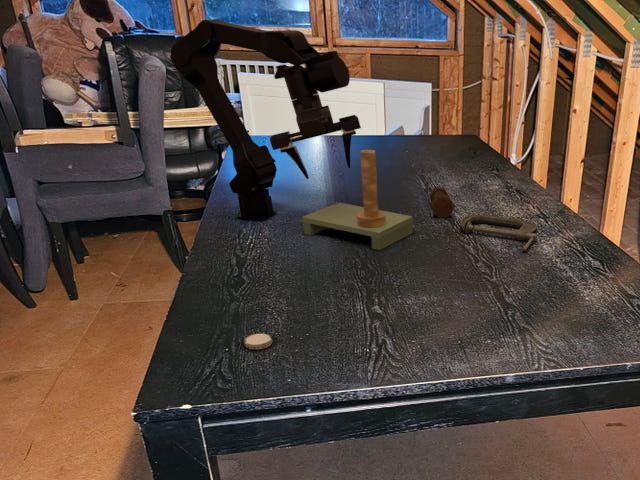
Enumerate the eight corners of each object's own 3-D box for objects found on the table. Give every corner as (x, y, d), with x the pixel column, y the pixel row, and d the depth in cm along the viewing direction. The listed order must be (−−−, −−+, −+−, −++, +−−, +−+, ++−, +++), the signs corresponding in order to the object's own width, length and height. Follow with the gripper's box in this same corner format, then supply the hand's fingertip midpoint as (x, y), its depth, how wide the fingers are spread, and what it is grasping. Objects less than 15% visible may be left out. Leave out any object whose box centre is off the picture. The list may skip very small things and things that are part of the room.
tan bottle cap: (239, 343, 98) (238, 339, 98) (261, 334, 101) (261, 330, 101) (255, 351, 96) (254, 348, 96) (277, 342, 99) (277, 338, 99)
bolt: (440, 206, 170) (446, 222, 156) (423, 197, 168) (427, 212, 155) (452, 187, 168) (458, 201, 154) (434, 177, 166) (439, 191, 153)
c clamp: (553, 230, 150) (554, 218, 149) (526, 253, 136) (526, 240, 135) (473, 216, 157) (474, 205, 156) (440, 237, 144) (440, 225, 142)
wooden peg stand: (357, 228, 135) (352, 154, 128) (357, 219, 141) (352, 148, 133) (386, 227, 136) (383, 154, 129) (385, 219, 142) (382, 147, 134)
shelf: (303, 233, 143) (302, 216, 141) (340, 218, 153) (339, 202, 151) (379, 250, 136) (378, 232, 134) (413, 233, 146) (412, 216, 144)
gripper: (255, 108, 126) (282, 188, 133) (349, 85, 128) (371, 166, 134) (262, 108, 137) (287, 182, 143) (349, 86, 138) (370, 161, 144)
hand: (328, 173), depth 141 cm, fingers open, 9 cm apart
